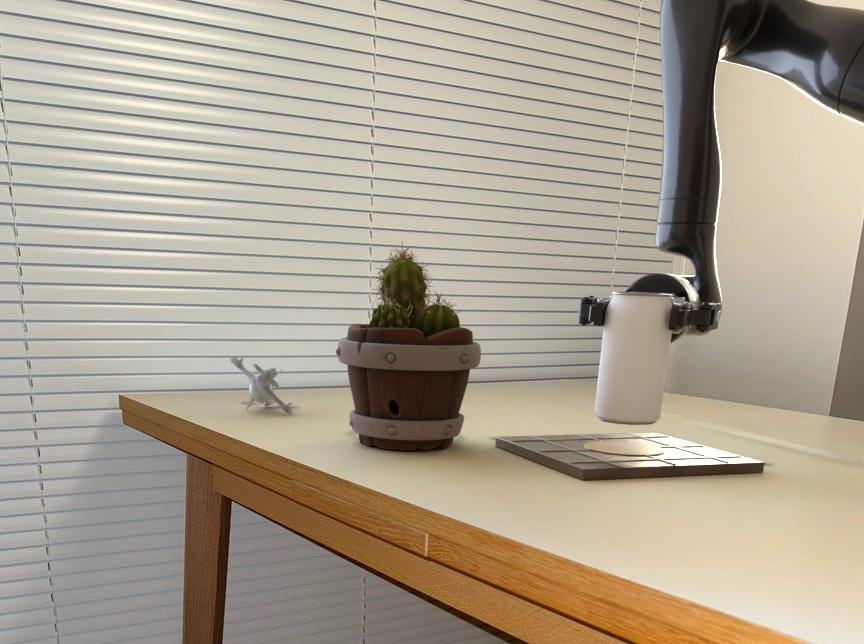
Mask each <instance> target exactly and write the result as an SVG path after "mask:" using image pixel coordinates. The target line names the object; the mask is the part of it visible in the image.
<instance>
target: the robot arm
mask: <svg viewBox="0 0 864 644" xmlns="http://www.w3.org/2000/svg"><path fill="white" fill-rule="evenodd" d="M659 41H660V62H661V63H660V64H661V95H662V97H661V98H662V156H661V159H662V160H661V174H660V184H659V185H660V186H659V193H658V203H657V214H656V221H655V222H656V225H655V231H654V232H655V233H654V245H655V248H656V249H657V250H658V251H659V252H661V253H664V254H669V255H673V256H677V257H681V258H684V259H686V260H688V261H689V262H690V263H691V264H692V267H693V269H694V275H679V274H678V275H677V274H672V273H651V274H645V275H643V276H641V277H639V278H638V279H636V280H634V281H633V282H632V283H631V284H630V285H629V286H628V287H627V288H626V290H624V292H644V293H664V294H672V296H671V303H672V308H671V315H670V322H669V330H672V335H671V343H670V344H673V343H674V342H677V340H679V339H681V338H682V337H683V336H687V337H688V336H689V337H701V336H706V335H708V334H710V333H711V332H712V331H714V330H718V327H719V321H720V319H721V317H722V316H721V315H722V312H723V300H722V299H723V298H722V292H721V287H720V279H719V275H718V274H719V273H718V267H717V257H716V255H717V254H716V236H717V224H718V217H719V208H720V199H721V192H722V174H723V173H722V172H723V171H722V157H721V150H720V149H721V148H720V142H719V135H718V130H717V119H716V118H717V117H716V105H715V89H716V88H715V87H716V78H717V77H716V76H717V69H718V63H719V62H725V63H729V64H733V65H736V66H737V65H738V66H742V67H746V68H750V69H753V70H756V71H760V72H762V73H763V72H764V73H767V74H769V75H772V76H775V77H777V78H779V79H781V80H783V81H785V82H786V83H787V84H789V85H790V86H792V87H793V88H795V89H796V90H797V91H799V93H801V94H803V95H804V96H805V97H807V98H808V99H810V100H811V101H813V102H814V103H816V104H818V105H819V106H820V107H823V108H824V109H827V110H828V111H830V112H832V113H834V114H836V115H838V116H841V117H843V118H845V119H847V120H850V121H851V122H855V123H857V124H859V125H862V126H864V9H858V8H853V7H844V6H833V5H825V4H821V3H816V2H813V1H809V0H661V2H660V9H659ZM612 296H613V294H612V293H611V295H610V296H609V298H608V299H607V297H601V298H600V297H595V295H588V296H583V297H581V298H580V301H579V310H578V318H577V319H578V320H577V325H581V326H587V325H591V324H593V327H599V328H604V320H605V313H606V308H607V306H608V304H609V303H610V301H611V299H612Z"/></svg>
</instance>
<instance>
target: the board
mask: <svg viewBox="0 0 864 644" xmlns="http://www.w3.org/2000/svg"><path fill="white" fill-rule="evenodd" d="M494 445H495V447H497V448H499V449H502V450H505V451H507V452H509V453H511V454H515V455H517V456H520V457H523V458H525V459H526V460H527V459H528V460H531V461H533V462H535V463H538V464H541V465H542V466H545V467H548V468H551V469H552V470H555V471H559V472H561V473H562V474H565V475H568V476H571V477H574V478H575V479H579V480H581V481H597V480H598V481H599V480H618V479H619V480H621V479H643V478H644V479H645V478H664V477H665V478H666V477H689V476H711V475H713V476H714V475H729V474H730V475H734V474H757V473H759V474H761V473H764V469H765V461H761V460H758V459H754V458H750V457H746V456H743V455H739V454H735V453H733V452H732V453H731V452H729V451H725V450H721V449H717V448H713V447H709V446H706V445H703V444H699V443H695V442H692V441H689V440H684V439H680V438H678V437H677V438H676V437H673V436H670V435H666V434H662V433H658V432H625V433H624V432H623V433H590V434H589V433H588V434H582V433H581V434H553V435H552V434H551V435H550V434H548V435H512V436H511V435H509V436H506V435H505V436H496V437H495V443H494Z"/></svg>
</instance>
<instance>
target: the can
mask: <svg viewBox="0 0 864 644" xmlns="http://www.w3.org/2000/svg"><path fill="white" fill-rule="evenodd" d="M612 294H613V296H612V299H611V301H610V303H609V304H608V306H607V308H606V313H605V320H604V326H603V330H602V338H601V347H600V355H599V357H600V358H599V365H598V376H597V385H596V393H595V403H594V416H595V417H596V420H598V421H600V422H603V423H608V424H615V425H616V424H617V425H629V426H648V425H653V424H656V423H657V422H658V421H659V420H661V415H662V408H663V403H664V401H663V400H664V394H665V386H666V379H667V371H668V366H669V365H668V364H669V358H670V348H671V344H672V343H671V335H672V330H669V322H670V315H671V308H672V303H671V296H672V294H664V293H644V292H625V291H612V292H611V295H612Z"/></svg>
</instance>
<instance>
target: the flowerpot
mask: <svg viewBox="0 0 864 644" xmlns="http://www.w3.org/2000/svg"><path fill="white" fill-rule="evenodd" d="M411 247H412V245H410V246H409V247H406V248H405V249H404V244H403V242H401V249H398V248H395V249H392V250H391V249H390V248H389V251H390V252H388V254H389V258H386V259H384V262H385V261H388V264H387V266H384V267H380V268H378V267H376V268H375V267H374V270H376V269H377V270H379V271H378V272H377V274H378V275H379V276H375V277H376V279H377V280H376V282H375V283H374V285H375V286H377V284H376V283H379V282H380V283H379V284H378V286H377V287H376V288H372V290H376V291H377V293H376V296H375V300H374V301H373V303H372V305H371V306H372V307H371V308H372V313H371V319H370V320H369V323H354V324H351V325H349V326H348V329H347V336H346V337H342V338H340V339H339V340H338V344H337V348H336V349H335V354H336V356H337V359H338V362H339V363H341V364H343V365H347V377H348V382H349V387H350V391H351V396H352V397H351V398H352V400H353V407H354V409H351V411H350V412H349V414H348V416H349V422H348V423H349V426H350V427H351V429H352V431H353V432H355V433H356V434H358V441H359V443H360V444H363V445H365V446H367V447H370V446H371V447H377V448H379V449H383V450H384V449H385V450H393V451H416V450H417V449H419V450H422V451H429V450H434V449H435V448H437V447H438V446H439V447H441V448H448V447H450V446H451V445H453V443H454V438H455V437H458V436H459V435H460V434H461V431H462V428H463V426H464V421H465V415H464V414H463V413H461V412H460V411H461V408H462V405H463V404H462V403H463V402H464V401H463V400H464V397H465V394H466V390H467V386H468V383H469V377H470V374H471V373H470V371H471V370H473V369H476V368H478V367H479V366H480V364H481V358H482V349H481V344H480V342H477V341H476V342H475V341H474V333H473V330H470V328H468V327H467V328H466V327H462V326H461V325H460V323H461V322H460V318H459V315H458V313H461V310H460V311H456V312H455V311H454V308H453V307H456V306H457V307H458V304H453V303H452V302H450V301H449V302H447V301H446V298H442V294H440V295H439V294H438V292H437V291H433V293H434V294H435V295H436V299H434V298H432V297H431V296H430V294H432V292H431V290H430V288H431V287H432V288H433V285H430V284H431V283H432V281H433V277H432V276H429V275H430V273H429V270H428V269H427V268H425V267H429V266H430V264H426V265H423V264H424V262H423V261H421V265H420V264H418V260H416V258H417V257H418V256H417V255H415V253H414V251H413V250H411V253H410V254H409V252H408V250H409V249H411ZM392 251H393V252H396V253H395V254H394V255H393V253H392ZM382 264H384V263H383V262H382ZM424 271H425V272H424ZM380 273H381V274H380ZM429 278H430V279H431V281H430V280H428V279H429ZM378 296H379V297H378ZM378 300H381V301H380V302H379V301H378ZM432 300H433V301H432ZM375 302H377V303H376V305H377V307H374V304H375Z"/></svg>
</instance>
